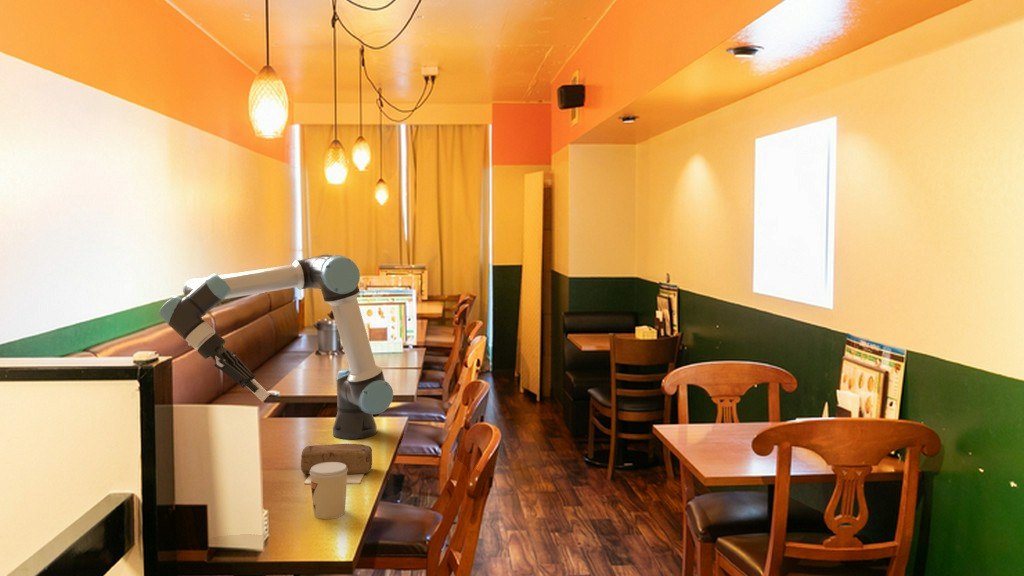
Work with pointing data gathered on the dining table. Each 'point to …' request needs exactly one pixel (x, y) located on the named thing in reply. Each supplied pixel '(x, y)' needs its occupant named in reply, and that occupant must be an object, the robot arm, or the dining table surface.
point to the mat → (350, 478)
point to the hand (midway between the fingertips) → (266, 397)
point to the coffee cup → (328, 489)
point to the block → (338, 457)
